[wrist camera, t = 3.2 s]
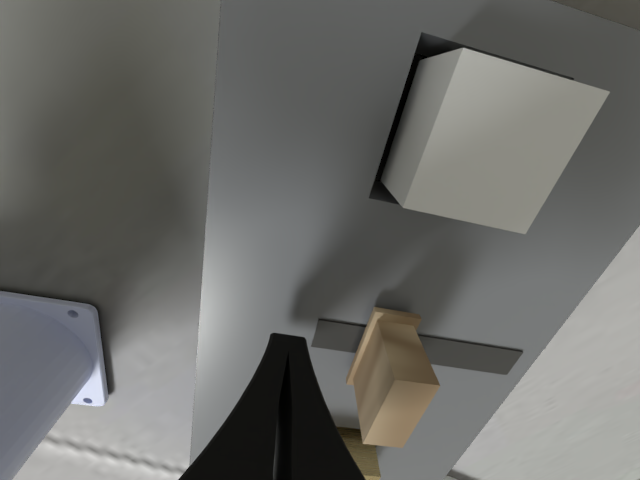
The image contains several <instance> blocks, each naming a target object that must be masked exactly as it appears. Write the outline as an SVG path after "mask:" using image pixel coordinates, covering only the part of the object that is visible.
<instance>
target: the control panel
mask: <svg viewBox="0 0 640 480" xmlns="http://www.w3.org/2000/svg"><path fill="white" fill-rule="evenodd" d="M460 48H466V49H470V50H473V51H476V52H480V53H483V54H486V55H490V56H493V57H496V58H499V59H503V60H506V61H509V62H513V63H516V64H519V65H523V66H526V67H529V68H533V69H536V70H539V71H543V72H546V73H549V74H553V75H556V76H559V77H563V78H566V79H569V80H573V81H576V82H579V83H583V84H586V85H589V86H593V87H596V88H599V89H603V90H606V91H609V92H610V93H609V95H608V96H607V98H606V100H605V101H604V103H603V105H602V106H601V108H600V110H599V111H598V113H597V115H596V117H595V118H594V120H593V122H592V123H591V125H590V127H589V128H588V130H587V132H586V133H585V135H584V137H583V138H582V140H581V142H580V143H579V145H578V147H577V148H576V150H575V152H574V153H573V155H572V157H571V159H570V160H569V162H568V164H567V165H566V167H565V169H564V170H563V172H562V174H561V175H560V177H559V179H558V180H557V182H556V184H555V185H554V187H553V189H552V190H551V192H550V194H549V195H548V197H547V199H546V201H545V202H544V204H543V206H542V207H541V209H540V211H539V212H538V214H537V216H536V217H535V219H534V221H533V222H532V224H531V226H530V227H529V229H528V231H527V232H526V234H521V233H517V232H512V231H508V230H503V229H498V228H494V227H489V226H484V225H480V224H475V223H471V222H466V221H461V220H457V219H452V218H448V217H443V216H438V215H434V214H429V213H425V212H420V211H415V210H411V209H406V208H403V207H402V206H401V205H400V204H399V202H398V201H397V200H396V199H395V198H394V196H393V195H392V194H391V193H390V191H389V190H388V189H387V188H386V187H385V185H384V184H383V183H382V182H378V181H374V180H375V177H376V174H377V170H378V167H379V164H380V161H381V158H382V155H383V152H384V148H385V145H386V142H387V139H388V136H389V133H390V130H391V126H392V123H393V120H394V117H395V114H396V111H397V108H398V104H399V101H400V98H401V95H402V92H403V89H404V86H405V82H406V79H407V76H408V73H409V70H410V67H411V64H412V60H413V57H414V54H415V53H417V54H420V55H424V56H427V57H433V56H436V55H440V54H443V53H447V52H450V51H453V50H457V49H460ZM639 225H640V30H637V29H634V28H631V27H628V26H626V25H623V24H620V23H617V22H614V21H611V20H608V19H605V18H602V17H599V16H596V15H593V14H590V13H587V12H584V11H581V10H578V9H575V8H572V7H569V6H566V5H563V4H560V3H557V2H554V1H551V0H221V7H220V22H219V37H218V52H217V67H216V81H215V96H214V111H213V126H212V141H211V155H210V170H209V185H208V200H207V214H206V229H205V244H204V259H203V274H202V288H201V303H200V318H199V333H198V348H197V362H196V377H195V392H194V407H193V422H192V436H191V451H190V465H191V464H192V463H193V462H194V461H195V459H196V458H197V457H198V456H199V455H200V453H201V452H202V451H203V450H204V448H205V447H206V446H207V444H208V443H209V442H210V441H211V439H212V438H213V436H214V435H215V434H216V432H217V431H218V430H219V428H220V427H221V426H222V424H223V423H224V422H225V420H226V419H227V417H228V416H229V414H230V413H231V411H232V410H233V408H234V407H235V405H236V404H237V402H238V401H239V399H240V397H241V396H242V394H243V392H244V391H245V389H246V387H247V386H248V384H249V382H250V381H251V379H252V377H253V375H254V373H255V371H256V369H257V367H258V366H259V364H260V362H261V359H262V357H263V355H264V353H265V350H266V348H267V345H268V342H269V338H270V334H272V333H280V334H287V335H293V336H300V337H305V339H306V341H307V347H308V351H309V355H310V359H311V362H312V366H313V369H314V372H315V375H316V378H317V381H318V384H319V387H320V389H321V392H322V395H323V397H324V400H325V402H326V405H327V407H328V409H329V412H330V414H331V416H332V418H333V421H334V423H335V425H336V426H337V427H346V428H355V429H360V422H359V416H358V409H357V403H356V396H355V390H354V385H348V384H346V377H347V374H348V372H349V369H350V367H351V364H352V362H353V359H354V356H355V354H356V351H357V349H358V346H359V344H360V341H361V339H362V336H363V334H364V331H365V328H366V326H367V323H368V321H369V318H370V316H371V313H372V311H373V308H374V307H378V308H384V309H390V310H396V311H402V312H408V313H414V314H419V315H420V317H421V319H422V320H421V322H420V324H419V326H418V328H417V330H416V332H417V335H418V337H419V339H420V341H421V343H422V346H423V348H424V350H425V352H426V355H427V357H428V359H429V361H430V364H431V366H432V368H433V370H434V373H435V375H436V377H437V379H438V381H439V384H440V387H439V389H438V390H437V392H436V394H435V395H434V397H433V399H432V400H431V402H430V404H429V405H428V407H427V409H426V410H425V412H424V414H423V415H422V417H421V419H420V420H419V422H418V423H417V425H416V427H415V428H414V430H413V432H412V433H411V435H410V437H409V438H408V440H407V442H406V443H405V445H404V447H403V448H398V447H389V446H379V445H375V448H376V453H377V458H378V464H379V469H380V474H381V478H380V479H379V480H443V479H444V478H445V477H446V475H447V474H448V473H449V471H450V470H451V469H452V468H453V466H454V465H455V464H456V462H457V461H458V460H459V458H460V457H461V456H462V455H463V453H464V452H465V451H466V449H467V448H468V447H469V446H470V444H471V443H472V442H473V440H474V439H475V438H476V436H477V435H478V434H479V433H480V431H481V430H482V429H483V427H484V426H485V425H486V424H487V422H488V421H489V420H490V418H491V417H492V416H493V414H494V413H495V412H496V411H497V409H498V408H499V407H500V405H501V404H502V403H503V401H504V400H505V399H506V398H507V396H508V395H509V394H510V392H511V391H512V390H513V389H514V387H515V386H516V385H517V383H518V382H519V381H520V379H521V378H522V377H523V376H524V374H525V373H526V372H527V370H528V369H529V368H530V367H531V365H532V364H533V363H534V361H535V360H536V359H537V357H538V356H539V355H540V354H541V352H542V351H543V350H544V348H545V347H546V346H547V344H548V343H549V342H550V341H551V339H552V338H553V337H554V335H555V334H556V333H557V332H558V330H559V329H560V328H561V326H562V325H563V324H564V322H565V321H566V320H567V319H568V317H569V316H570V315H571V313H572V312H573V311H574V310H575V308H576V307H577V306H578V304H579V303H580V302H581V300H582V299H583V298H584V297H585V295H586V294H587V293H588V291H589V290H590V289H591V287H592V286H593V285H594V284H595V282H596V281H597V280H598V278H599V277H600V276H601V275H602V273H603V272H604V271H605V269H606V268H607V267H608V265H609V264H610V263H611V262H612V260H613V259H614V258H615V256H616V255H617V254H618V253H619V251H620V250H621V249H622V247H623V246H624V245H625V243H626V242H627V241H628V240H629V238H630V237H631V236H632V234H633V233H634V232H635V230H636V229H637V228H638V227H639ZM274 457H275V455H274ZM189 467H190V466H189ZM273 473H274V472H273Z"/></svg>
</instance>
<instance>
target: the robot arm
mask: <svg viewBox="0 0 640 480" xmlns="http://www.w3.org/2000/svg"><path fill="white" fill-rule="evenodd" d="M75 311H76V312H75ZM108 398H109V397H108V389H107V381H106V373H105V365H104V357H103V349H102V341H101V333H100V325H99V317H98V312H97V309H96V308H95V307H94V306H92V305H90V304H85V303H78V302H72V301H65V300H58V299H52V298H45V297H38V296H32V295H25V294H18V293H11V292H5V291H0V480H12V479H13V478H14V476H15V475H16V474H17V472H18V471H19V470H20V469H21V467H22V466H23V465H24V463H25V462H26V461H27V459H28V458H29V457H30V456H31V454H32V453H33V452H34V450H35V449H36V448H37V446H38V445H39V444H40V443H41V441H42V440H43V439H44V437H45V436H46V435H47V433H48V432H49V431H50V430H51V428H52V427H53V426H54V424H55V423H56V422H57V420H58V419H59V418H60V417H61V415H62V414H63V413H64V411H65V410H66V409H67V407H68V406H69V405H70V404H71V403H72V404H81V405H90V406H103V405H104V404H105V403H106V402H107V400H108ZM274 455H275V457H274ZM273 472H274V473H273ZM179 480H366V479H365V477H364V476H363V474H362V472H361V471H360V469H359V467H358V466H357V464H356V462H355V461H354V459H353V457H352V456H351V454H350V452H349V450H348V448H347V446H346V445H345V443H344V441H343V439H342V437H341V435H340V433H339V431H338V429H337V427H336V425H335V423H334V421H333V418H332V416H331V414H330V412H329V409H328V407H327V405H326V402H325V400H324V397H323V395H322V392H321V389H320V387H319V384H318V381H317V378H316V375H315V372H314V369H313V366H312V362H311V359H310V355H309V351H308V347H307V341H306V339H305V337H300V336H293V335H287V334H280V333H272V334H270V338H269V342H268V345H267V348H266V350H265V353H264V355H263V357H262V359H261V362H260V364H259V366H258V367H257V369H256V371H255V373H254V375H253V377H252V379H251V381H250V382H249V384H248V386H247V387H246V389H245V391H244V392H243V394H242V396H241V397H240V399H239V401H238V402H237V404H236V405H235V407H234V408H233V410H232V411H231V413H230V414H229V416H228V417H227V419H226V420H225V422H224V423H223V424H222V426H221V427H220V428H219V430H218V431H217V432H216V434H215V435H214V436H213V438H212V439H211V441H210V442H209V443H208V444H207V446H206V447H205V448H204V450H203V451H202V452H201V453H200V455H199V456H198V457H197V458H196V459H195V461H194V462H193V463H192V464H191V465H190V467H189V468H188V469H187V470H186V471H185V473H184V474H183V475H182V476H181V477H180V478H179Z"/></svg>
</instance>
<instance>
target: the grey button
mask: <svg viewBox="0 0 640 480" xmlns="http://www.w3.org/2000/svg"><path fill="white" fill-rule="evenodd" d="M609 93H610V92H609V91H606V90H603V89H599V88H596V87H593V86H589V85H586V84H583V83H579V82H576V81H573V80H569V79H566V78H563V77H559V76H556V75H553V74H549V73H546V72H543V71H539V70H536V69H533V68H529V67H526V66H523V65H519V64H516V63H513V62H509V61H506V60H503V59H499V58H496V57H493V56H490V55H486V54H483V53H480V52H476V51H473V50H470V49H466V48H460V49H457V50H453V51H450V52H447V53H443V54H440V55H436V56H433V57H430V58H426V59H423V60H420V61H419V64H418V67H417V70H416V73H415V76H414V79H413V82H412V85H411V88H410V91H409V94H408V97H407V100H406V103H405V106H404V110H403V113H402V116H401V119H400V122H399V125H398V128H397V131H396V134H395V137H394V140H393V143H392V146H391V149H390V152H389V155H388V158H387V162H386V165H385V168H384V171H383V174H382V177H381V182H382V183H383V184H384V185H385V187H386V188H387V189H388V190H389V191H390V193H391V194H392V195H393V196H394V198H395V199H396V200H397V201H398V202H399V204H400V205H401V206H402V207H403V208H406V209H411V210H415V211H420V212H425V213H429V214H434V215H438V216H443V217H448V218H452V219H457V220H461V221H466V222H471V223H475V224H480V225H484V226H489V227H494V228H498V229H503V230H508V231H512V232H517V233H521V234H526V232H527V231H528V229H529V227H530V226H531V224H532V222H533V221H534V219H535V217H536V216H537V214H538V212H539V211H540V209H541V207H542V206H543V204H544V202H545V201H546V199H547V197H548V195H549V194H550V192H551V190H552V189H553V187H554V185H555V184H556V182H557V180H558V179H559V177H560V175H561V174H562V172H563V170H564V169H565V167H566V165H567V164H568V162H569V160H570V159H571V157H572V155H573V153H574V152H575V150H576V148H577V147H578V145H579V143H580V142H581V140H582V138H583V137H584V135H585V133H586V132H587V130H588V128H589V127H590V125H591V123H592V122H593V120H594V118H595V117H596V115H597V113H598V111H599V110H600V108H601V106H602V105H603V103H604V101H605V100H606V98H607V96H608V95H609Z"/></svg>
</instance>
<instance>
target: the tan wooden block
mask: <svg viewBox="0 0 640 480" xmlns="http://www.w3.org/2000/svg"><path fill="white" fill-rule="evenodd" d="M421 320H422V319H421V317H420V315H419V314H414V313H408V312H402V311H396V310H390V309H384V308H378V307H374V308H373V311H372V313H371V316H370V318H369V321H368V323H367V326H366V328H365V331H364V334H363V336H362V339H361V341H360V344H359V346H358V349H357V351H356V354H355V356H354V359H353V362H352V364H351V367H350V369H349V372H348V374H347V377H346V384H348V385H354V390H355V396H356V403H357V409H358V416H359V422H360V429H361V436H362V442H363V444H369V445H379V446H389V447H398V448H403V447H404V445H405V443H406V442H407V440H408V438H409V437H410V435H411V433H412V432H413V430H414V428H415V427H416V425H417V423H418V422H419V420H420V419H421V417H422V415H423V414H424V412H425V410H426V409H427V407H428V405H429V404H430V402H431V400H432V399H433V397H434V395H435V394H436V392H437V390H438V389H439V387H440V384H439V381H438V379H437V377H436V375H435V373H434V370H433V368H432V366H431V364H430V361H429V359H428V357H427V355H426V352H425V350H424V348H423V346H422V343H421V341H420V339H419V337H418V335H417V332H416V330H417V328H418V326H419V324H420V322H421Z"/></svg>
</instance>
